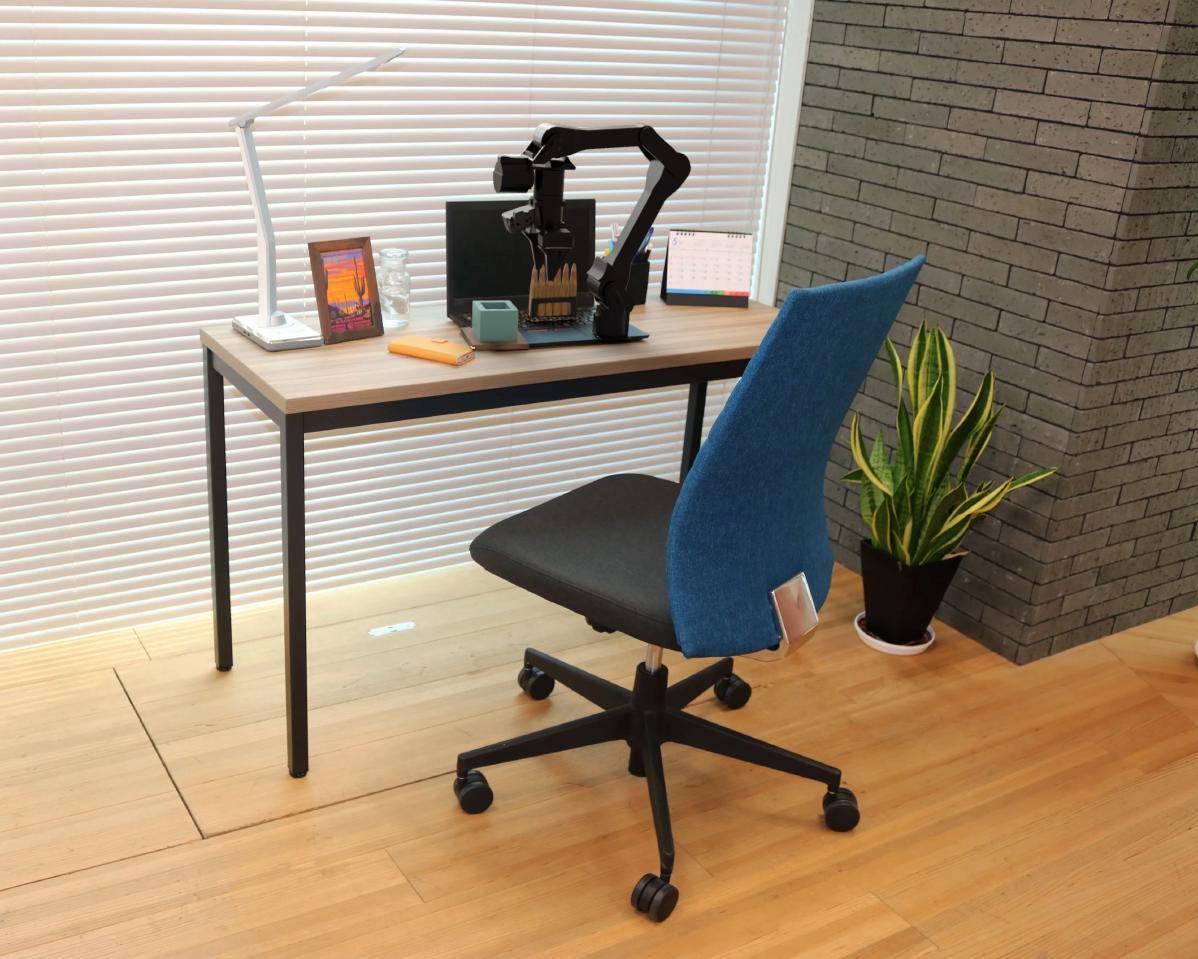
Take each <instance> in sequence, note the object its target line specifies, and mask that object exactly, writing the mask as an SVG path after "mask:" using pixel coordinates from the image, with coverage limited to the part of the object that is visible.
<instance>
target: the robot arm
mask: <svg viewBox="0 0 1198 959" xmlns="http://www.w3.org/2000/svg"><path fill="white" fill-rule="evenodd" d="M636 147H637V148H638V149H639V150H640V152H641V153H642V155H643V156H644V157H645V158H646V160H648V162H649V166H648V168H647V170H646V171H647V172H646V176H645V177H646V178H645V186H644V189H643V191H642V193H641V195H640V197H639V199H638V200H637V202H636V204H635V206H634V208H633V210H632V212H631V213H630V215H629V218H628V219H627V221H626V222H625V225H624V227H623V229H622V230H621V232H620V234H619V236H618V238H617V239H616V241H615V242H614V245H613V247H612V249H611V251H610V252H609V253H608V254H607V255H605V256H604V257H603V258H602V257H600V256H598V255H597V256H596V257H595V258H594V261H593V263H592V266H591V268H590V269H589V270H588V271H587V272H586V274H587V275H588V276H587V279H586V285H587V286H586V287H587V290H588V291H589V293H591V294H592V295H593V298H594V301H595V303H598V304H596V308H595V312H593V315H592V316H593V317H592V327H591V328H592V329H591V333H592V332H593V333H594V334H595V335H596V336H598V337H599V338H600V339H599V338H598V339H599V341H602V342H603V341H605V342H606V341H631V339H632V337H631V336H630V335H629V330H630V327H629V326H630V318H631V317H630V316H631V312H633V309H634V308H635V305H636V301H635V300H634V299H633V297H631V296H630V295H629V293H628V292H627V291H626V290H627V288H628V284H629V281H630V274H631V268H632V267H631V266H632V263H633V261H634V259H635V258H636V256H637V254H638V252H639V251H640V248H641V247H642V245H643V242H644V241H645V239H646V237H647V235H648V234H649V232H650V230H651V228H652V226H653V224H654V223H655V220H656V219H657V217H658V216H659V214H660V211H661V209H662V208H663V206H664V204H665V202H666V201H667V199H668V198H670V197H672V195H674V193H675V192H678V190H679V189H680V188H681V187H682V186H683V184H684V183H685V181H686V180H687V179H688V177H689V176H690V174H691V172H692V165H691V161H690V159H689V157H688V156H687V155H686V154H685V153H682V152H679V151H677V150H676V149H675V148H674V147H673V146H672V145H670V144H669V143H668V142H667V141H666V140H665V139H664V138H663V137H661V135H660V134H659V133H658V132H657V131H656V130H655V129H654V127H652V126H651V125H649V124H648V125H647V124H645V123H641V122H639V123H636V124H628V125H627V124H626V125H625V124H624V125H608V126H607V125H605V126H591V127H589V126H588V127H587V126H584V127H577V126H572V125H566V124H562V123H555V122H542V123H540V124H538V126H537V127H536V128H535V129H534V131H533V133H532V138H531V140H530V142H529V143H528V144H527V145H526V147H525V148H524V150H522V152H521V153H520V155H506V154H498V155H497V161H496V162H495V164H494V168H493V169H494V170H493V171H492V182H493V183H492V184H493V187H494V191H495V193H496V194H527V193H529V190H532V189H533V192H532V196H531V195H530V196H529V198H528V203H527V204H526V205H523V206H519V207H516V208H514V209H510V210H508V211H505V212H502V214H501V218H502V221H503V223H504V227H505V229H506V231H508V233H509V234H512V235H513V234H516V233H518V232H519V231H521V232H522V233H521V234H523V235H524V236H525V237H526V238H527V239H528V240H529V243H530V247H531V248H530V249H531V252H532V258H533V263H534V265H535V269H537V271H538V270H539V271H540V270H541V268H542V266H543V264H545V274H546V281H547V280H548V281H553V282H554V280H555V276H556V274H557V273H558V271H559V269H561V267H562V265H563V263H564V261H565V259H566V258H567V257H568V254H569V252H570V251H572V249H574V248H575V244H576V243H575V241H576V237H575V236H574V234H573V233H572V232H571V231H569V230H568V229H567V228H565V227H566V226H565V224H566V223H565V222H564V221H563V209H564V207H565V208H566V206H567V201H566V200H565V199H564V194H565V193H564V192H565V176H566V175H565V173H566V171H576V169H577V166H576V165H575V164H574V163H573V162H572V161H571V160H570V157H569V156H573V155H575V154H578V153H580V152H583V151H587V150H601V149H602V150H604V149H618V148H619V149H620V148H636ZM593 333H592V334H593ZM594 334H593V335H594ZM595 335H594V336H595ZM628 335H629V336H628ZM596 336H595V337H596Z"/></svg>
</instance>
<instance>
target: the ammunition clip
mask: <svg viewBox="0 0 1198 959" xmlns="http://www.w3.org/2000/svg"><path fill="white" fill-rule="evenodd" d="M544 264H545V263H543V266H542V268H541V269H540V270H539V274H538V270H537V269H535V264H534V265H533V267H532V272H531V279H530V280H531V282H530V287H529V296H528V304H527V311H526V312H527V315H526V317H527V316H528V315H529V316H530V318H534V317H577V316H578V315H577V314H578V312H577V310H578V308H577V305H578V296H577V286H578V282H577V265H576V263H575V262H573V264H572V267H571V270H569V264H568V263H565V265H564V266H563V271H562V270H561V268H560V269H559V271H558V273H557V274H556V276H555V278H554V280H553V281H548V280H547V279H546V266H545V265H544ZM569 271H571V272H569ZM561 272H562V273H561ZM569 274H570V278H569ZM538 275H539V278H538ZM561 278H562V279H561Z"/></svg>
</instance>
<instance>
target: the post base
mask: <svg viewBox="0 0 1198 959" xmlns="http://www.w3.org/2000/svg"><path fill="white" fill-rule="evenodd" d="M471 327H472V326H471ZM471 327H470V326H469V327H467V326H466V327H464V326H463V327H460V334H461V335H462V336H463V339H465V341H466V342H467V344H468V345H469V347H470V346H472V347H475V349H476V350H475V351H490V350H492V351H493V350H496V351H497V350H529V349H530V343H529V342H528V341H527V339H526V338H525V337H524V336H523V334H522V333H521V332H520V331H519V330H518V333H517V341H479V340H478V338H477V337H476V336H475V334H474V333H473V331H472V328H471Z"/></svg>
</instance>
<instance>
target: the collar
mask: <svg viewBox="0 0 1198 959" xmlns="http://www.w3.org/2000/svg"><path fill="white" fill-rule="evenodd" d="M471 311H472V312H471V313H472V315H471V316H472V317H471V318H472V319H471V327H472V331H473V333H474V334H475V336H476V337H477V338H478V340H479V341H517V333H518V331H519V328H518V327H519V309H518V308H517V307H516V306H515V305H514V304H513V303H512V301H511V300H472V310H471Z"/></svg>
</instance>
